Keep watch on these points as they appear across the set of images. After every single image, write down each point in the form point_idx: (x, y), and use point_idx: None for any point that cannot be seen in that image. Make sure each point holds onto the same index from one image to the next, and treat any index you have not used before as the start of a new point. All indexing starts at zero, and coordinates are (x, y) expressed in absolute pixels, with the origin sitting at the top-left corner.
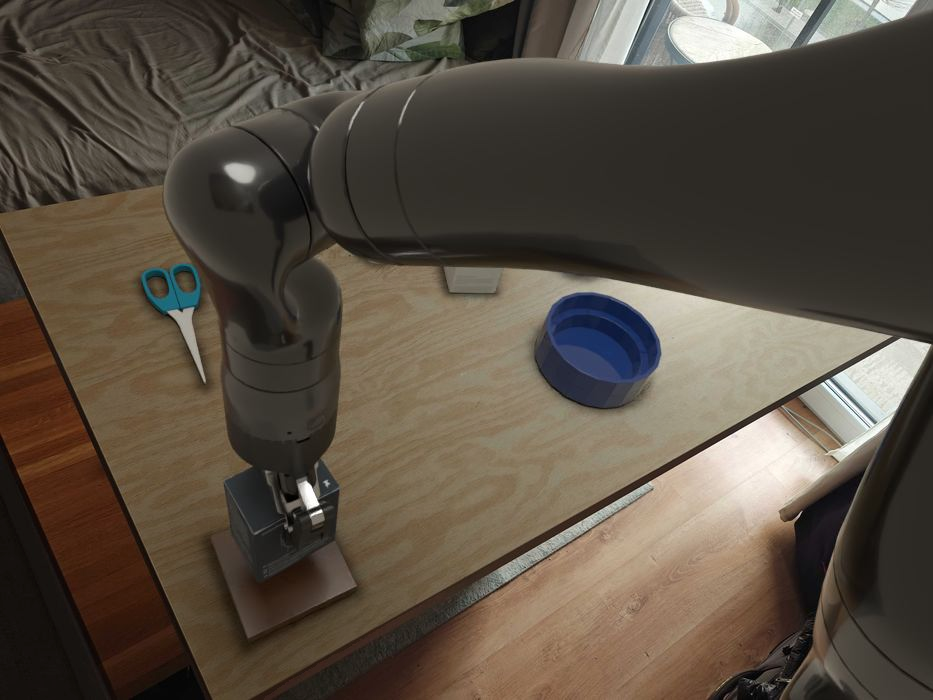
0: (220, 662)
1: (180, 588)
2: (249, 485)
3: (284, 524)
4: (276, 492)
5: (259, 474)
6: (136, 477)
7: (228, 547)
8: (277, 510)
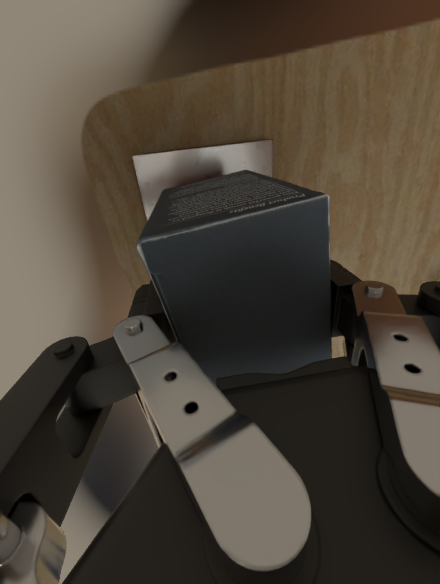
0: (119, 115)
1: (225, 84)
2: (282, 260)
3: (133, 328)
4: (160, 432)
5: (301, 288)
6: (396, 56)
7: (250, 159)
8: (131, 367)
